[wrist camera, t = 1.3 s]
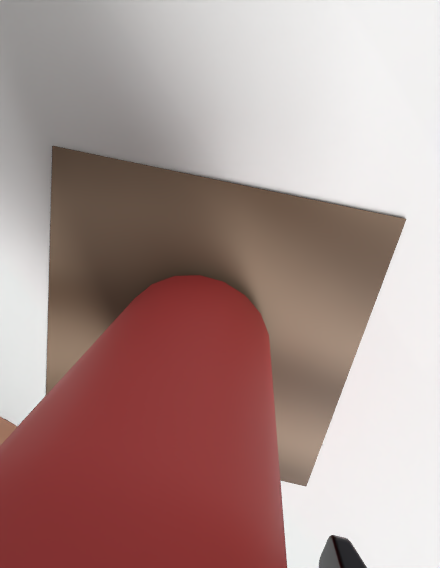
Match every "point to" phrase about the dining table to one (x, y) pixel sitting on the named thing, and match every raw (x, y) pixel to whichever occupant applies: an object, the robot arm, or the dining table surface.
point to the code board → (219, 274)
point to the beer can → (153, 444)
